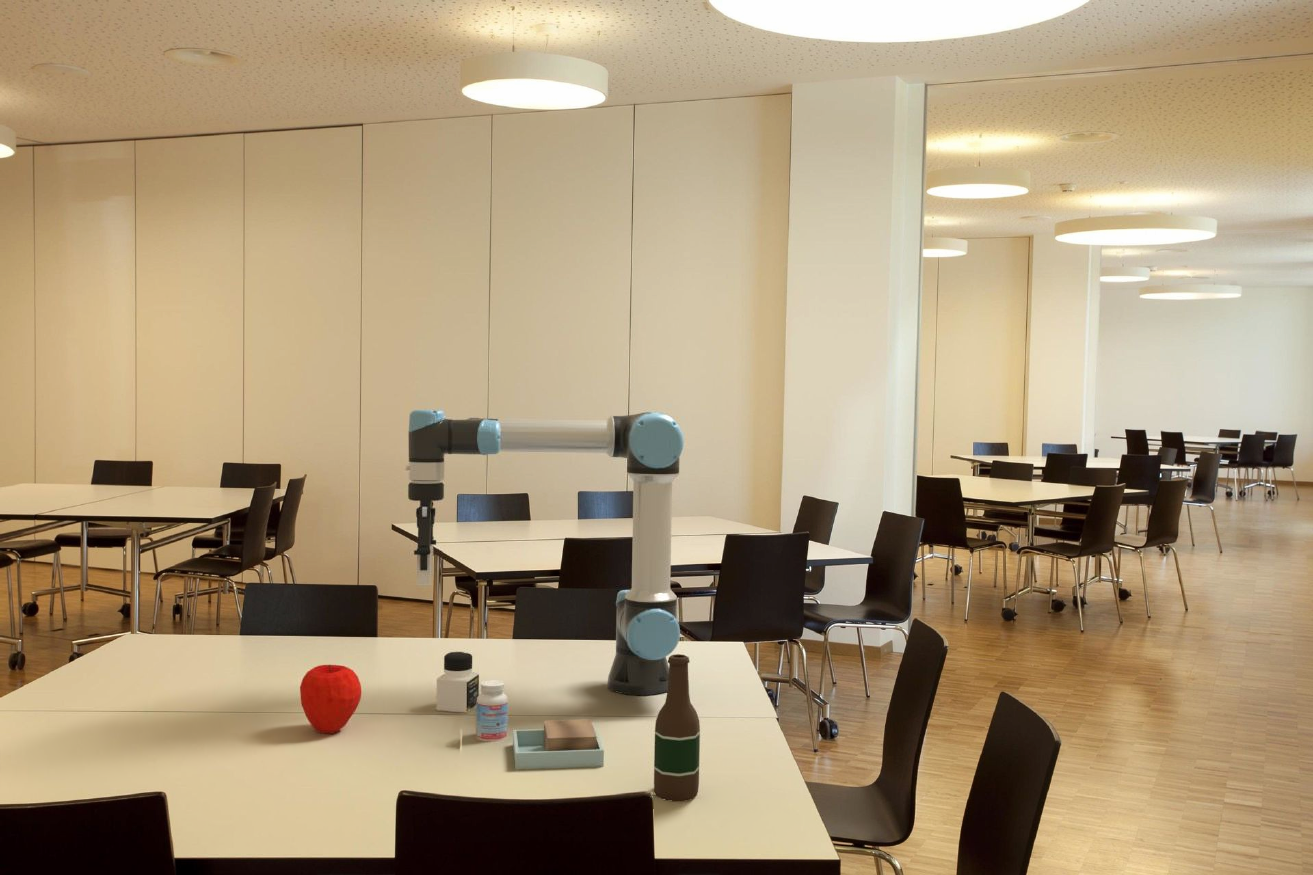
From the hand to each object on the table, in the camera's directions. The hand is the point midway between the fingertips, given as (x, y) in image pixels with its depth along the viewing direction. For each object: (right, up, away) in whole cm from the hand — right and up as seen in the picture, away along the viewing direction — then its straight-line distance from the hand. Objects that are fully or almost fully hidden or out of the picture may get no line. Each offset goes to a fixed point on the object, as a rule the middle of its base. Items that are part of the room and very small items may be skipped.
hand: (425, 580), depth 237 cm
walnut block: (+33, -29, -30) cm, 53 cm away
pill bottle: (+17, -29, -19) cm, 39 cm away
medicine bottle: (+7, -28, +2) cm, 29 cm away
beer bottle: (+53, -31, -48) cm, 78 cm away
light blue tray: (+31, -30, -30) cm, 52 cm away
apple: (-16, -29, -15) cm, 36 cm away
